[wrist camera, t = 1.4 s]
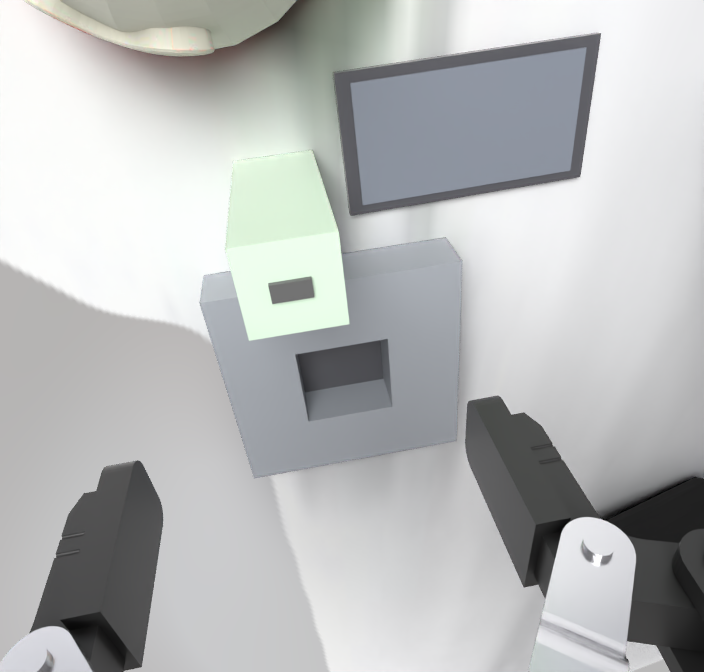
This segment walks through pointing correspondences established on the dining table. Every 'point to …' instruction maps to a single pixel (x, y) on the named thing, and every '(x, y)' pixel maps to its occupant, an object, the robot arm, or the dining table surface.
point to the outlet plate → (348, 364)
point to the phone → (465, 122)
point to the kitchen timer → (168, 22)
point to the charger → (284, 247)
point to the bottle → (666, 514)
